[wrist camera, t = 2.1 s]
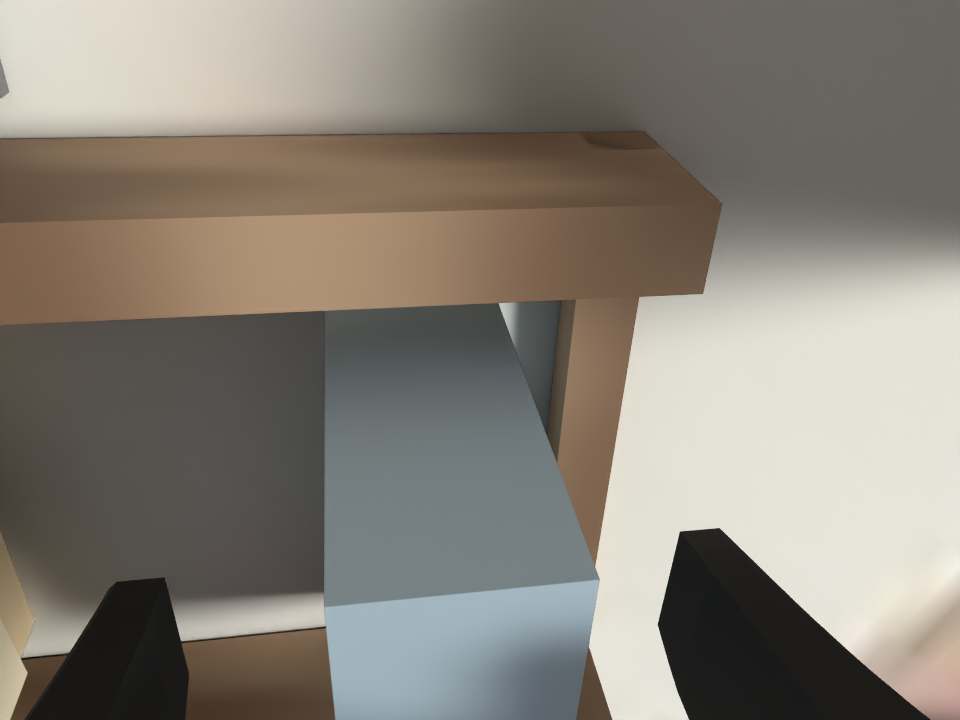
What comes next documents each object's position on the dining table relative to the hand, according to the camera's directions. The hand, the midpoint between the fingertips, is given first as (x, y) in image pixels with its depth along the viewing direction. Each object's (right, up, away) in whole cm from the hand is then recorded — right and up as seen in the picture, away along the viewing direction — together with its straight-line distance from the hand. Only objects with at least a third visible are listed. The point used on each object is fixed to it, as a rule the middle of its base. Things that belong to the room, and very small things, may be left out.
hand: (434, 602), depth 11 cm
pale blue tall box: (-1, +2, +3) cm, 4 cm away
